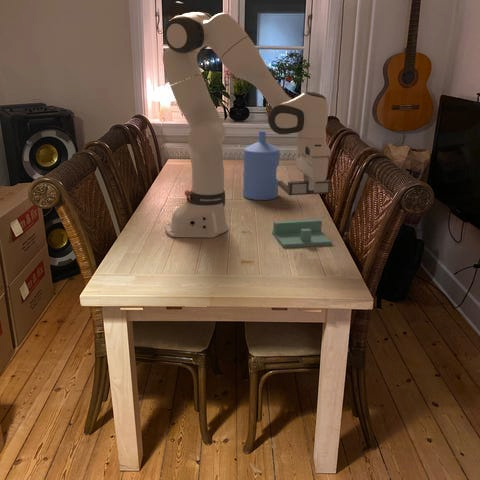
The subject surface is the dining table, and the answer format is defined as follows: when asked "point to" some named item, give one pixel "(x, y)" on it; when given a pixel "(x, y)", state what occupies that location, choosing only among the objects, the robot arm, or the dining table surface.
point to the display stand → (300, 233)
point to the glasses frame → (305, 187)
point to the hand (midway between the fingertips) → (308, 188)
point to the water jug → (260, 170)
